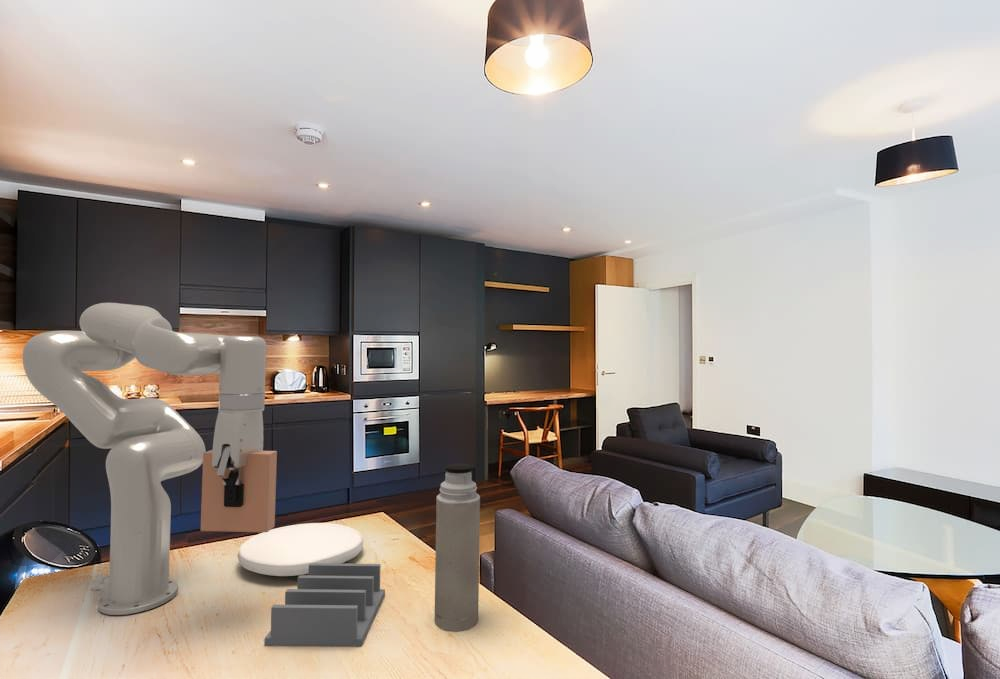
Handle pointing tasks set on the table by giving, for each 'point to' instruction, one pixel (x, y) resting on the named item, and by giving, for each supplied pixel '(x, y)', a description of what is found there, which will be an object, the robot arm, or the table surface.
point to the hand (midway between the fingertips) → (238, 502)
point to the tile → (256, 496)
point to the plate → (299, 548)
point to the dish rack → (328, 607)
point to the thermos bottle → (457, 550)
